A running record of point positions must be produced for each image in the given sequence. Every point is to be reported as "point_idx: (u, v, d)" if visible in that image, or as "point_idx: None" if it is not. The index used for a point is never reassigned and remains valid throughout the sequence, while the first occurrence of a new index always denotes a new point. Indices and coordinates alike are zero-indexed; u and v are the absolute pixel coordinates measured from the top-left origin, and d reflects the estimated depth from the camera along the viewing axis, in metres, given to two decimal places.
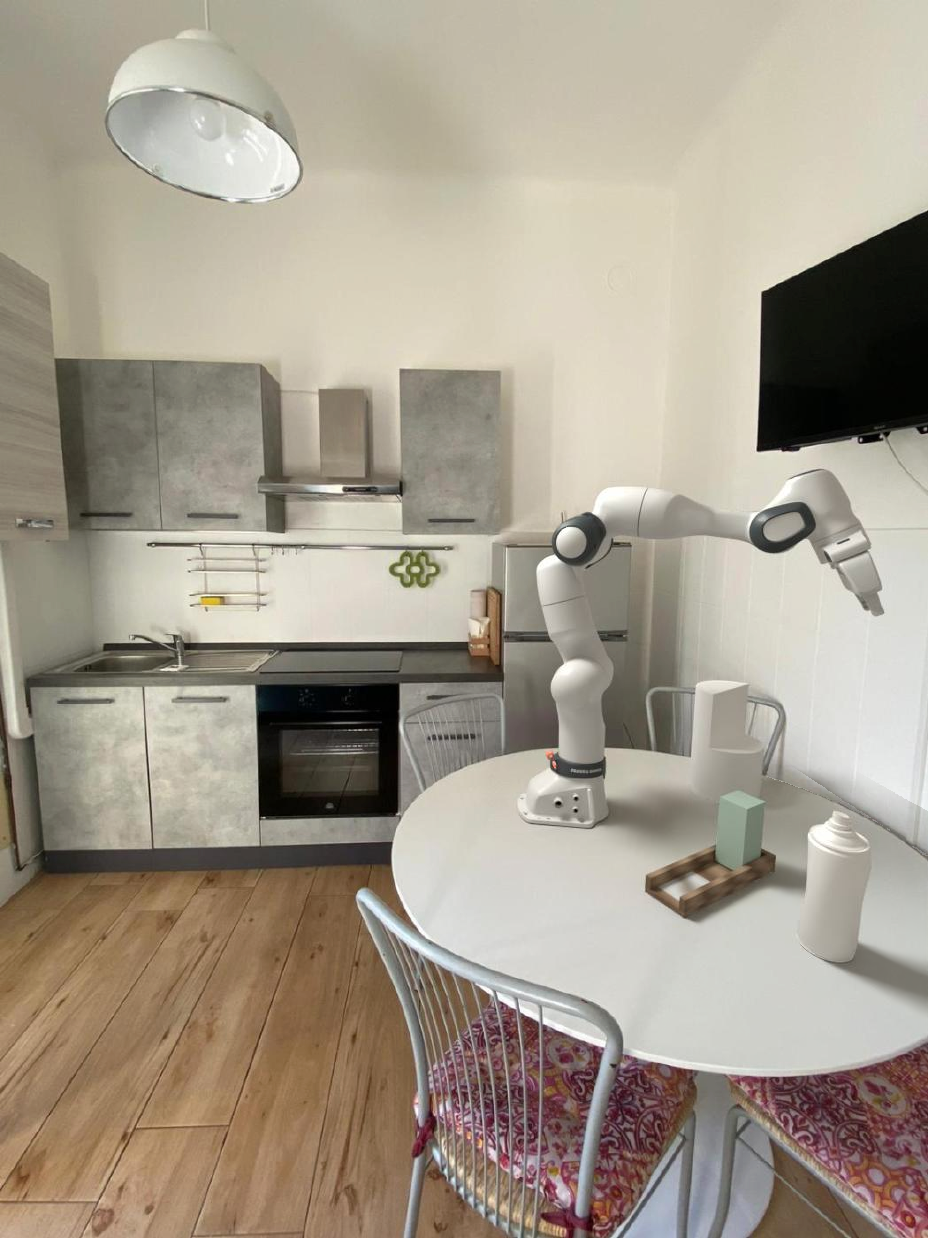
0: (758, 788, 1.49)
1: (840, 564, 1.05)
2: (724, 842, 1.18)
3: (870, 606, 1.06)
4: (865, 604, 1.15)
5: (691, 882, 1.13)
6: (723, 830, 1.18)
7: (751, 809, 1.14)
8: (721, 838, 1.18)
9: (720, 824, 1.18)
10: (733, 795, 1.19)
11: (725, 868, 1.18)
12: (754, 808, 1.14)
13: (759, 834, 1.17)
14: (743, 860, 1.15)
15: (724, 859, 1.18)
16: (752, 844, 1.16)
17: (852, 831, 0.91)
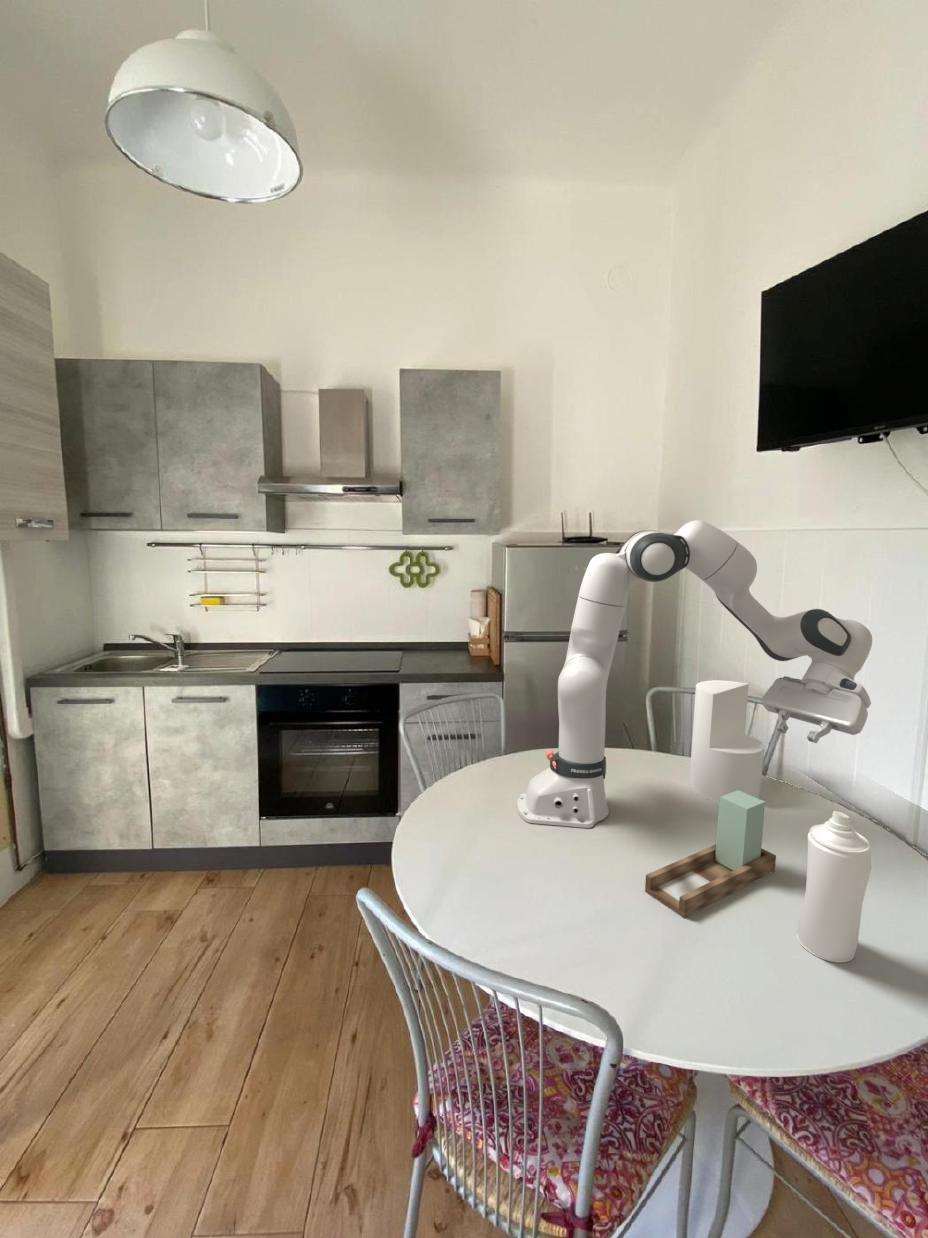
0: (758, 788, 1.49)
1: (860, 697, 1.19)
2: (724, 842, 1.18)
3: (820, 732, 1.21)
4: (785, 726, 1.27)
5: (691, 882, 1.13)
6: (723, 830, 1.18)
7: (751, 809, 1.14)
8: (721, 838, 1.18)
9: (720, 824, 1.18)
10: (733, 795, 1.19)
11: (725, 868, 1.18)
12: (754, 808, 1.14)
13: (759, 834, 1.17)
14: (743, 860, 1.15)
15: (724, 859, 1.18)
16: (752, 844, 1.16)
17: (852, 831, 0.91)
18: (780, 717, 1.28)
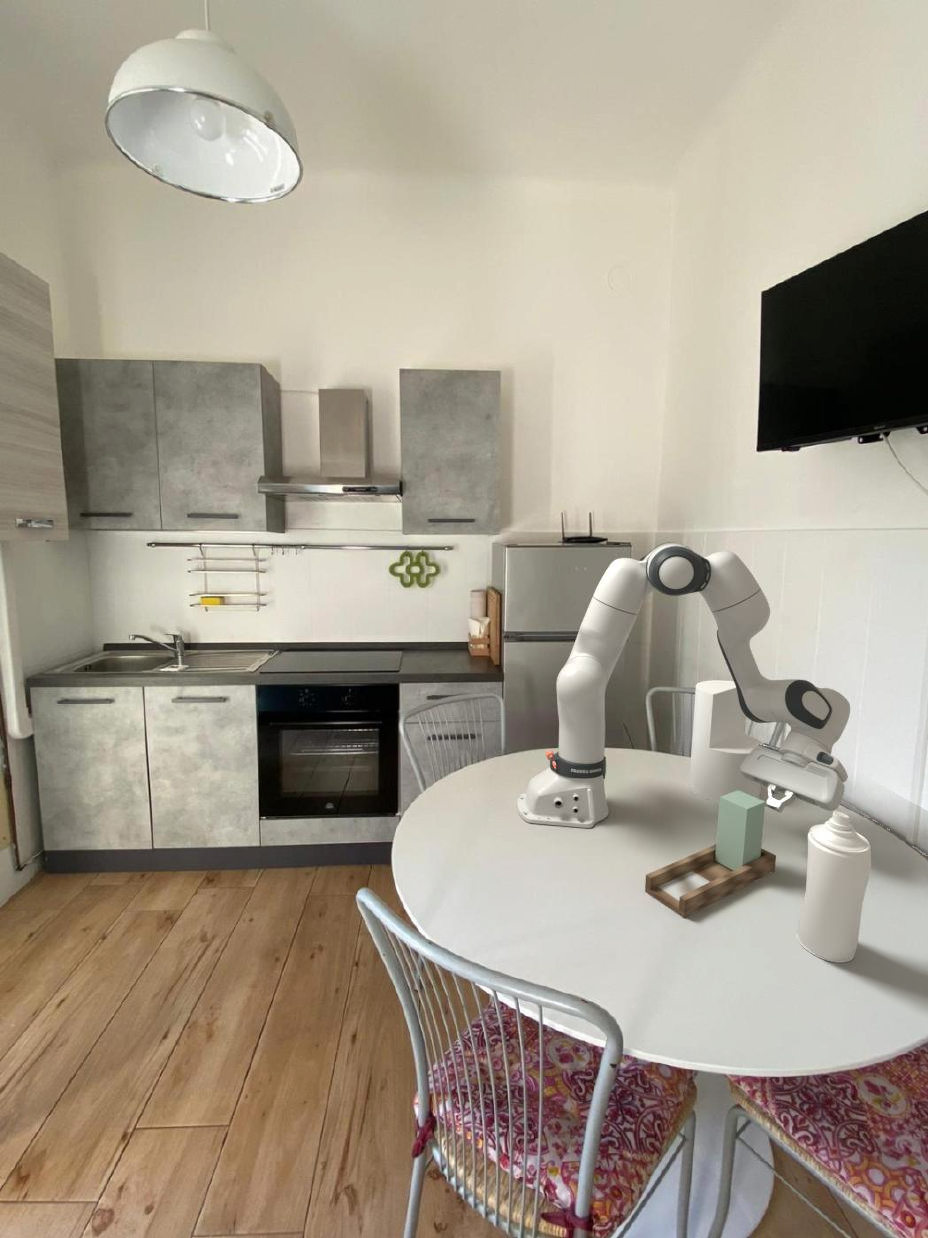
0: (758, 788, 1.49)
1: (836, 773, 1.18)
2: (724, 842, 1.18)
3: (784, 801, 1.22)
4: None
5: (691, 882, 1.13)
6: (723, 830, 1.18)
7: (751, 809, 1.14)
8: (721, 838, 1.18)
9: (720, 824, 1.18)
10: (733, 795, 1.19)
11: (725, 868, 1.18)
12: (754, 808, 1.14)
13: (759, 834, 1.17)
14: (743, 860, 1.15)
15: (724, 859, 1.18)
16: (752, 844, 1.16)
17: (852, 831, 0.91)
18: (769, 792, 1.25)
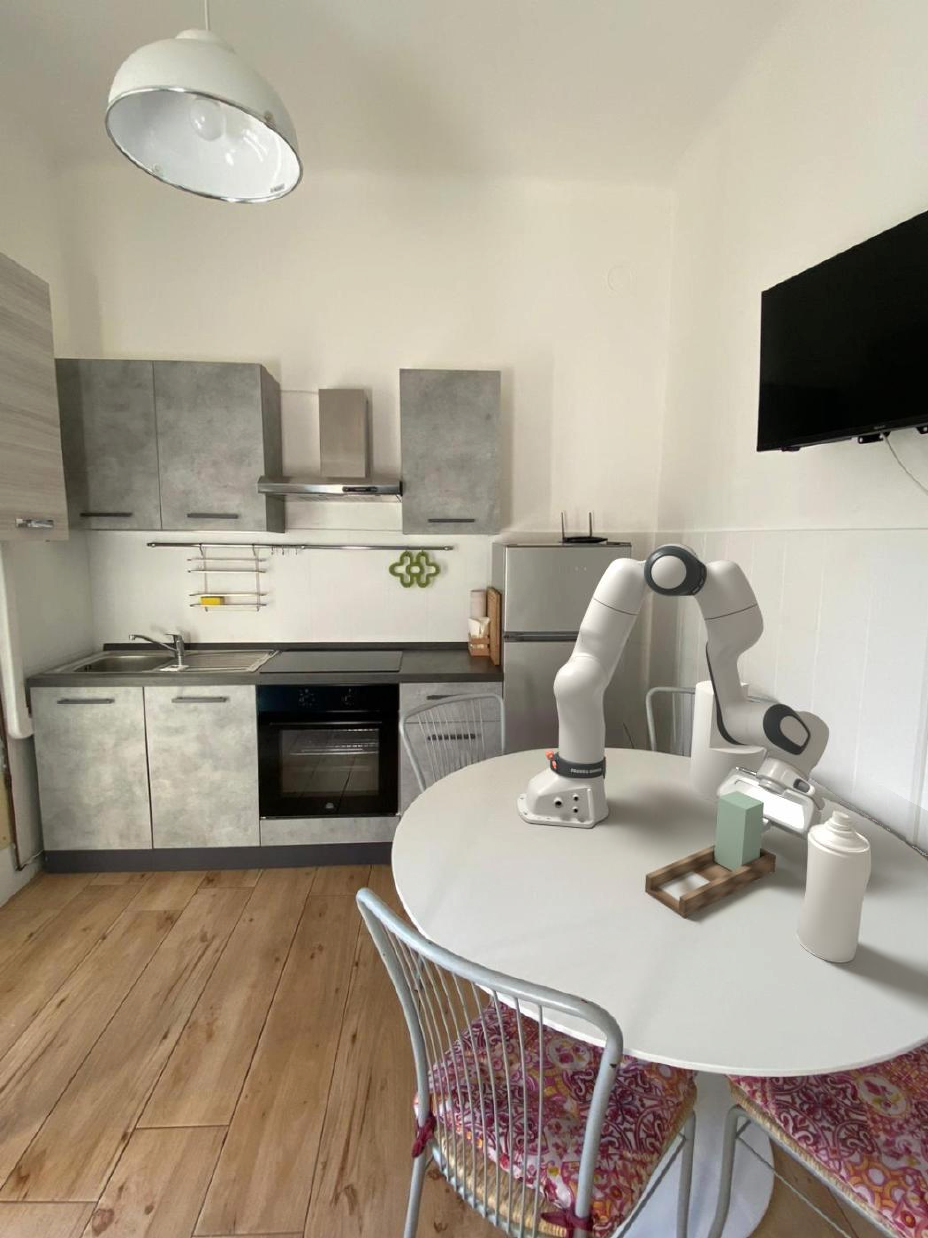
0: None
1: (812, 801, 1.15)
2: (723, 843, 1.18)
3: None
4: None
5: (691, 882, 1.13)
6: (722, 830, 1.18)
7: (750, 810, 1.14)
8: (720, 838, 1.18)
9: (719, 824, 1.18)
10: (732, 795, 1.19)
11: (725, 868, 1.18)
12: (753, 808, 1.14)
13: (758, 835, 1.17)
14: (741, 861, 1.15)
15: (722, 860, 1.18)
16: (751, 845, 1.16)
17: (852, 831, 0.91)
18: None
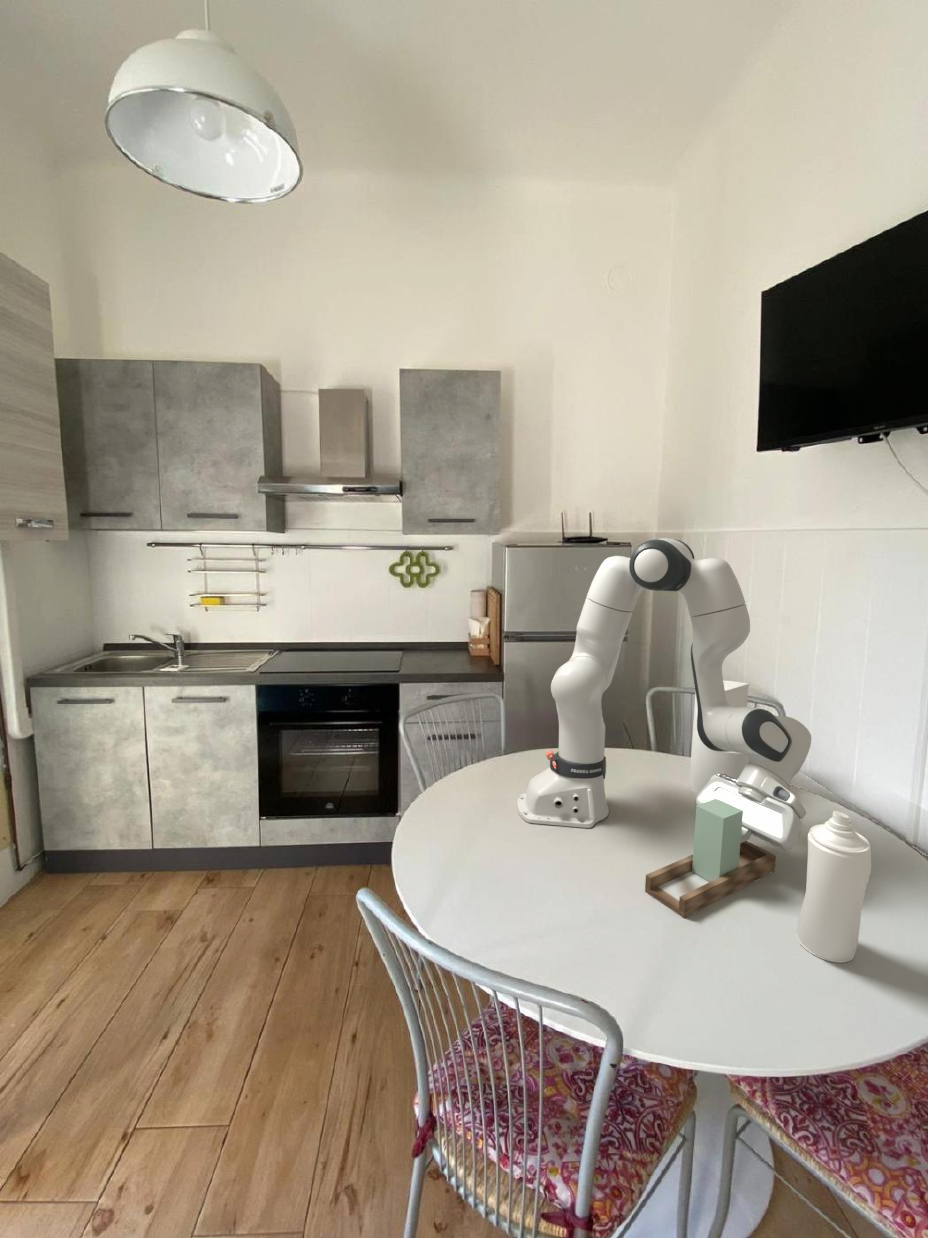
0: None
1: (792, 810, 1.11)
2: (701, 852, 1.14)
3: None
4: None
5: (691, 882, 1.13)
6: (700, 840, 1.14)
7: (728, 819, 1.10)
8: (698, 848, 1.15)
9: (697, 833, 1.15)
10: (710, 804, 1.15)
11: None
12: (731, 817, 1.11)
13: (737, 845, 1.13)
14: (719, 871, 1.11)
15: (700, 870, 1.15)
16: (730, 855, 1.12)
17: (852, 831, 0.91)
18: None
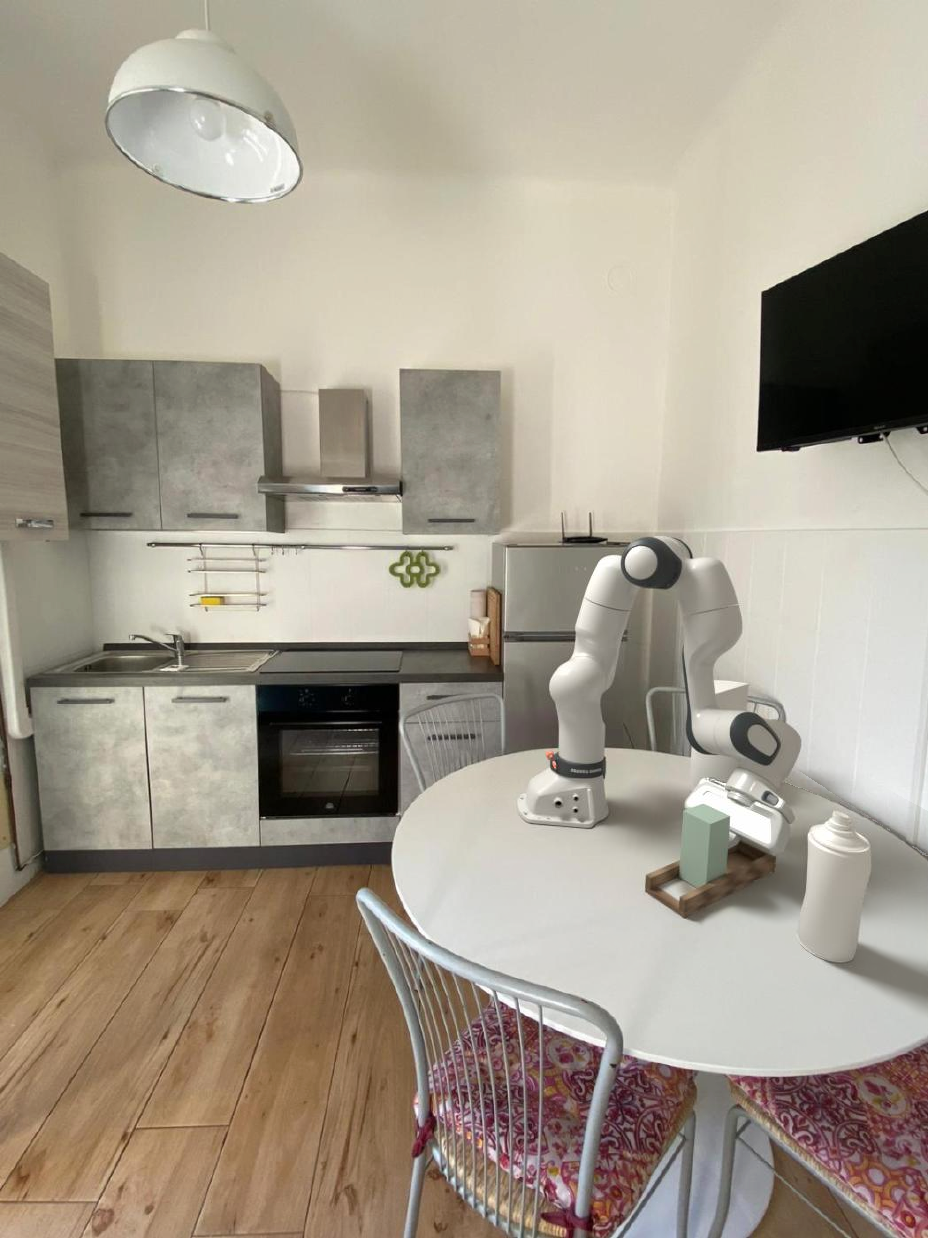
0: None
1: (781, 815, 1.09)
2: (687, 858, 1.12)
3: None
4: None
5: None
6: (687, 845, 1.12)
7: (715, 824, 1.08)
8: (685, 853, 1.13)
9: (684, 839, 1.13)
10: (697, 808, 1.13)
11: None
12: (718, 822, 1.09)
13: (724, 850, 1.11)
14: (706, 878, 1.09)
15: (687, 876, 1.13)
16: (717, 861, 1.10)
17: (852, 831, 0.91)
18: None
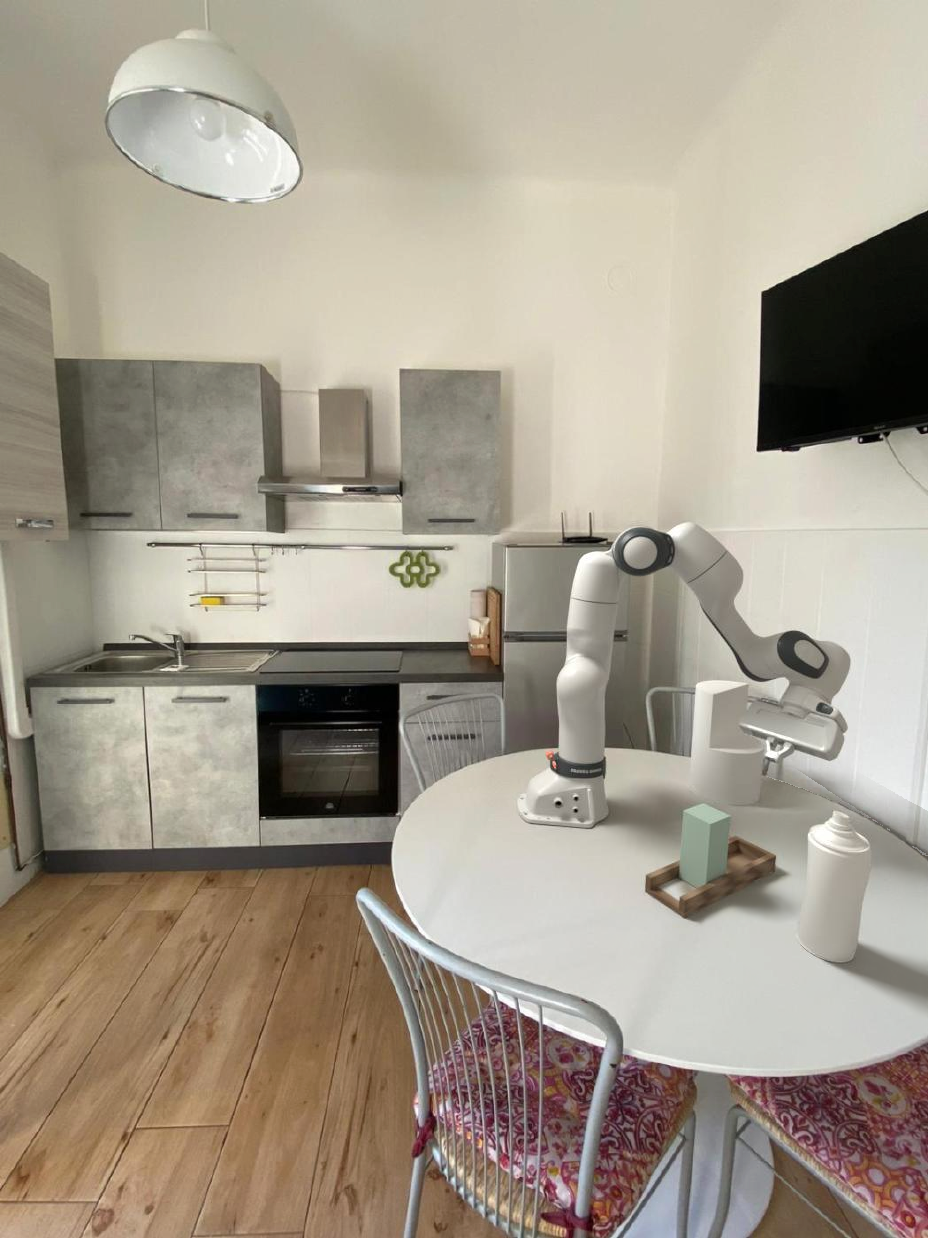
0: (758, 788, 1.49)
1: (836, 722, 1.16)
2: (687, 858, 1.12)
3: (783, 753, 1.21)
4: None
5: None
6: (687, 845, 1.12)
7: (715, 824, 1.08)
8: (685, 854, 1.13)
9: (684, 839, 1.13)
10: (697, 808, 1.13)
11: None
12: (718, 822, 1.09)
13: (724, 850, 1.11)
14: (706, 878, 1.09)
15: (687, 876, 1.13)
16: (717, 861, 1.10)
17: (852, 831, 0.91)
18: (768, 744, 1.23)
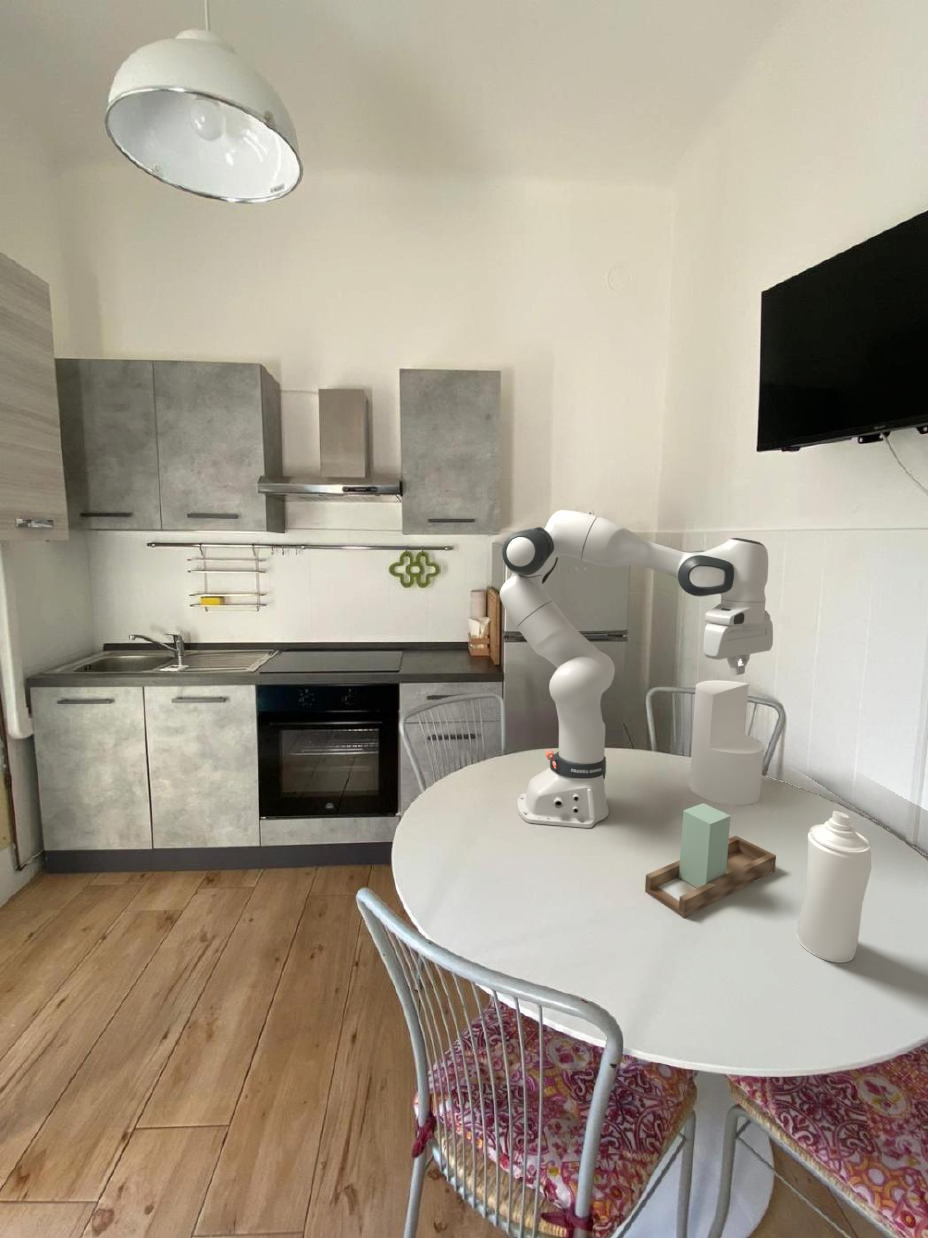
0: (758, 788, 1.49)
1: (706, 625, 1.25)
2: (687, 858, 1.12)
3: (729, 665, 1.29)
4: None
5: None
6: (687, 845, 1.12)
7: (715, 824, 1.08)
8: (685, 854, 1.13)
9: (684, 839, 1.13)
10: (697, 808, 1.13)
11: None
12: (718, 822, 1.09)
13: (724, 850, 1.11)
14: (706, 878, 1.09)
15: (687, 876, 1.13)
16: (717, 861, 1.10)
17: (852, 831, 0.91)
18: None
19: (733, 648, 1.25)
